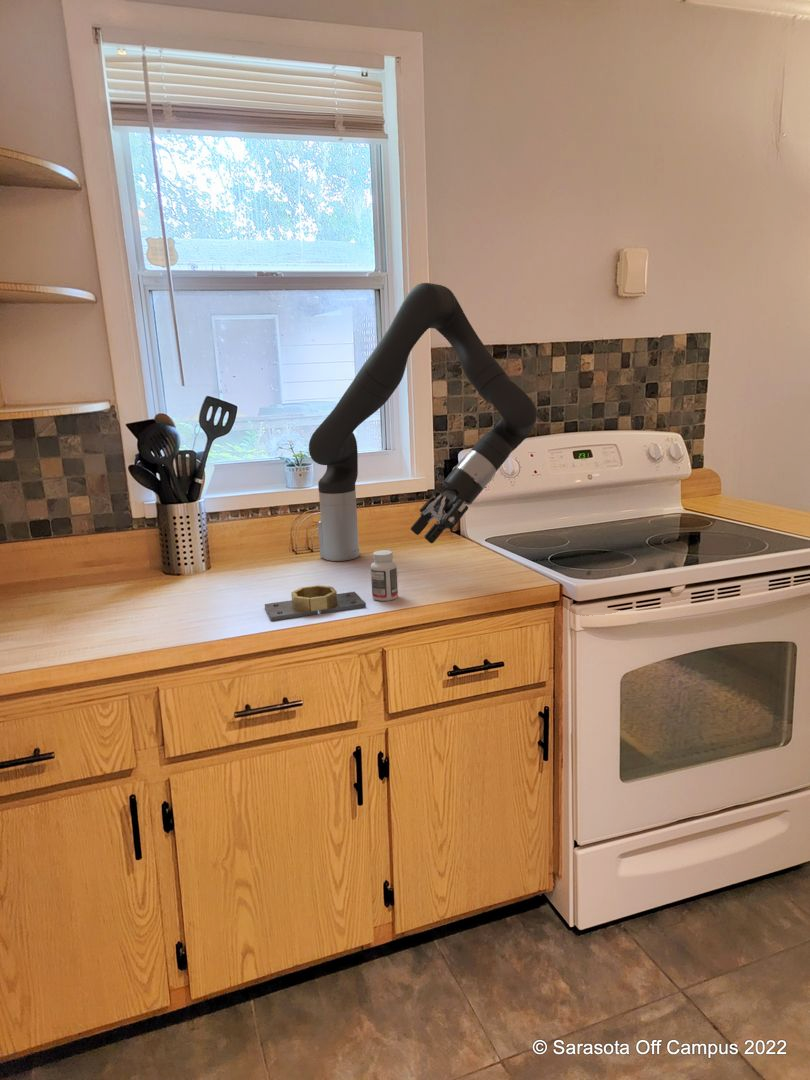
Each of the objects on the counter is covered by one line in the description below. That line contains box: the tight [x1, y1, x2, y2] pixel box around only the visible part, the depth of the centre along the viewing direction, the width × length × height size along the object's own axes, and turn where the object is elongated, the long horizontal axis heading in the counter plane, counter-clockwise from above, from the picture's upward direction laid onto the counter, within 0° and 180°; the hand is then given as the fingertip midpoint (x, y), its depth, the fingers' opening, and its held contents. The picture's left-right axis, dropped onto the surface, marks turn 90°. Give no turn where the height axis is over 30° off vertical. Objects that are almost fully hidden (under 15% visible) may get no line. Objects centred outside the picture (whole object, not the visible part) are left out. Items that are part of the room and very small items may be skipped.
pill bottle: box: [370, 549, 399, 602], centre depth 150 cm, size 5×5×10 cm
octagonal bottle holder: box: [264, 584, 367, 622], centre depth 146 cm, size 19×9×3 cm, turn 109°
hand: (420, 536), depth 151 cm, fingers open, 8 cm apart
